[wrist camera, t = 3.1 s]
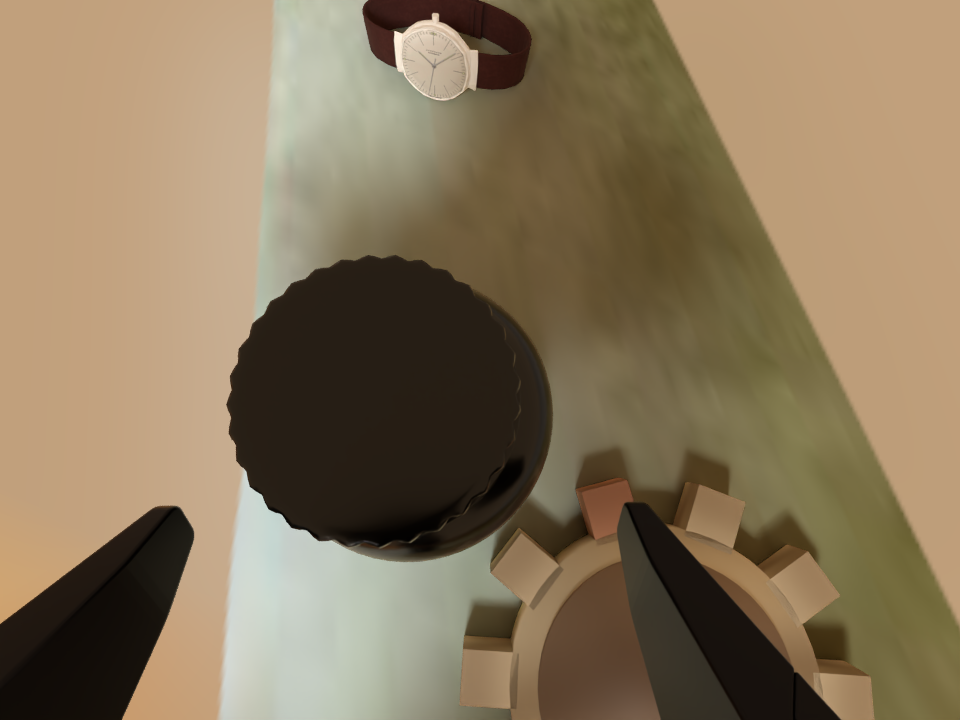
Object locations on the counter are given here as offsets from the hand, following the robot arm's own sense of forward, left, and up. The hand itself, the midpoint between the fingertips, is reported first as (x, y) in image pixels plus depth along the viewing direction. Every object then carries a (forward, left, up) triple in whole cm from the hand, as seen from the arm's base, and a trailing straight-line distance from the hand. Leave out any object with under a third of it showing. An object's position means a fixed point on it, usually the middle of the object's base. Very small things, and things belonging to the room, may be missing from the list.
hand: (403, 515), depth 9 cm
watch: (+19, -5, -10) cm, 22 cm away
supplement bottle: (+2, -1, -10) cm, 10 cm away
